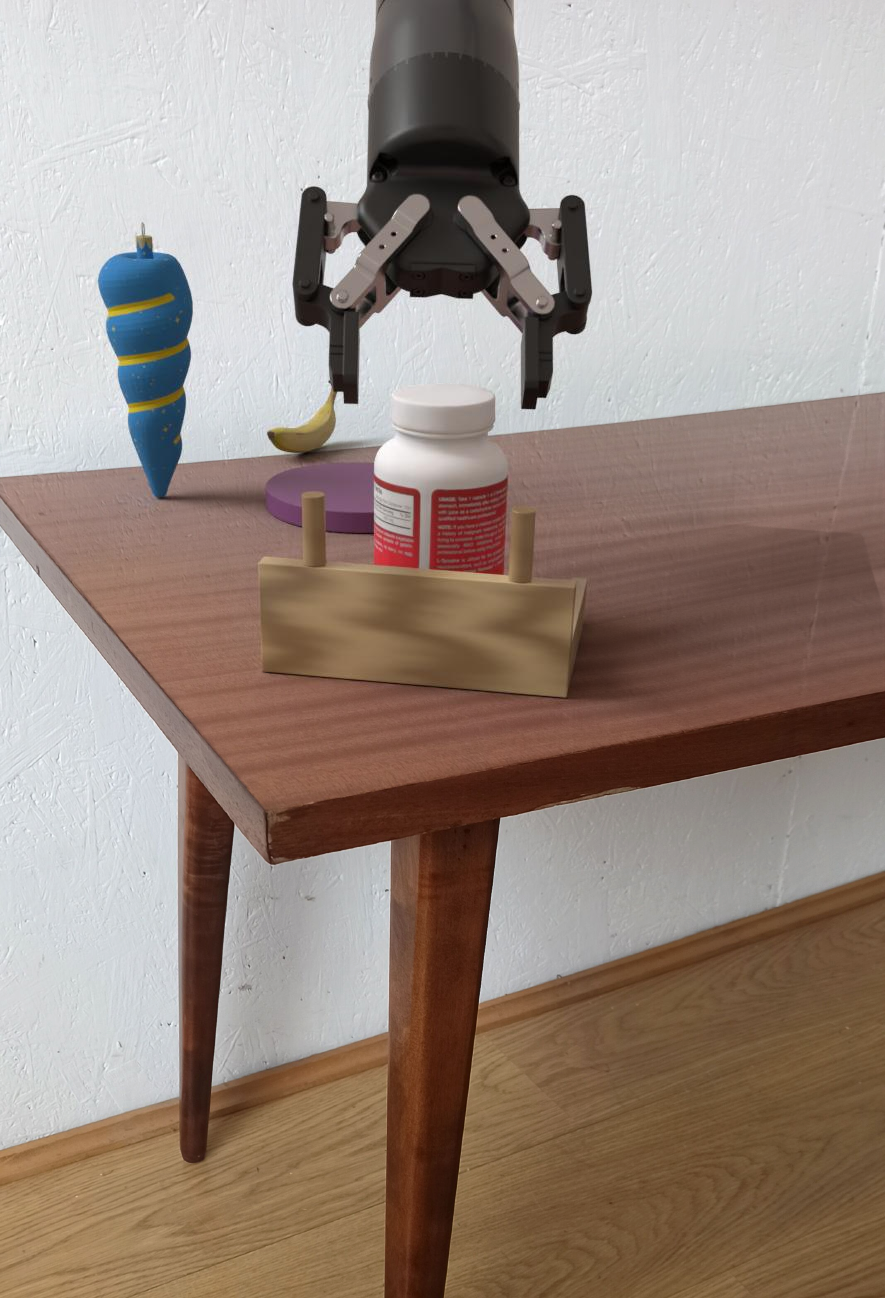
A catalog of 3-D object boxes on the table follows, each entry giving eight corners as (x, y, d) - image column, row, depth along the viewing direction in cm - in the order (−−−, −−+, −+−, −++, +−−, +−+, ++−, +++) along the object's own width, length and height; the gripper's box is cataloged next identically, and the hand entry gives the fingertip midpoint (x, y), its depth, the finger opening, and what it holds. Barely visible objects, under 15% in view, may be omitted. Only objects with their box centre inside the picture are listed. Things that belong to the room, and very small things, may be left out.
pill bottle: (513, 618, 76) (526, 385, 70) (483, 660, 71) (494, 413, 65) (394, 603, 77) (396, 374, 71) (356, 644, 72) (356, 401, 66)
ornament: (110, 507, 90) (85, 227, 82) (123, 484, 94) (100, 216, 86) (198, 509, 90) (182, 230, 82) (207, 485, 94) (192, 218, 86)
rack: (583, 621, 76) (597, 457, 71) (566, 698, 67) (580, 516, 63) (312, 599, 77) (309, 437, 73) (261, 671, 69) (255, 493, 65)
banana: (326, 436, 106) (325, 376, 104) (348, 440, 105) (347, 379, 103) (262, 462, 100) (260, 398, 97) (285, 465, 99) (283, 401, 97)
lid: (461, 488, 96) (462, 468, 95) (433, 539, 86) (434, 518, 86) (290, 476, 97) (290, 456, 96) (245, 525, 88) (244, 504, 87)
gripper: (296, 41, 72) (285, 345, 69) (596, 51, 73) (600, 354, 69) (304, 157, 79) (295, 437, 76) (577, 166, 80) (580, 445, 76)
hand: (440, 397), depth 72 cm, fingers open, 8 cm apart
